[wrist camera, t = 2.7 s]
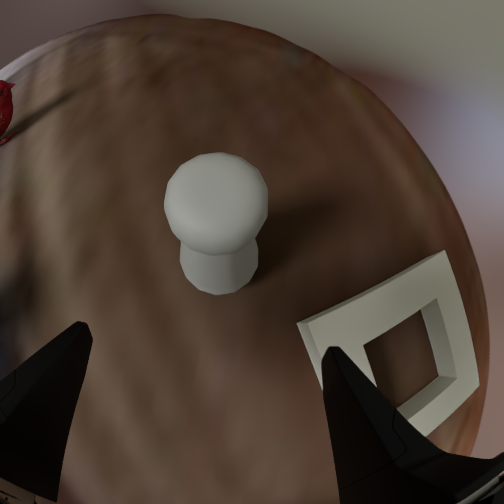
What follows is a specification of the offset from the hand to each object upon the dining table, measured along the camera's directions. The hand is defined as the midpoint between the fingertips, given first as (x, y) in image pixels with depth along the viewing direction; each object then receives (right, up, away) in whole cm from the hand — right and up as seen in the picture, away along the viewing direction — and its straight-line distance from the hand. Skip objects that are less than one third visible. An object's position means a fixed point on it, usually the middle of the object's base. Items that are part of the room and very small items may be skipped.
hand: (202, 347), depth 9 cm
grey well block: (+16, -7, +13) cm, 21 cm away
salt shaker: (-1, +2, +14) cm, 14 cm away
